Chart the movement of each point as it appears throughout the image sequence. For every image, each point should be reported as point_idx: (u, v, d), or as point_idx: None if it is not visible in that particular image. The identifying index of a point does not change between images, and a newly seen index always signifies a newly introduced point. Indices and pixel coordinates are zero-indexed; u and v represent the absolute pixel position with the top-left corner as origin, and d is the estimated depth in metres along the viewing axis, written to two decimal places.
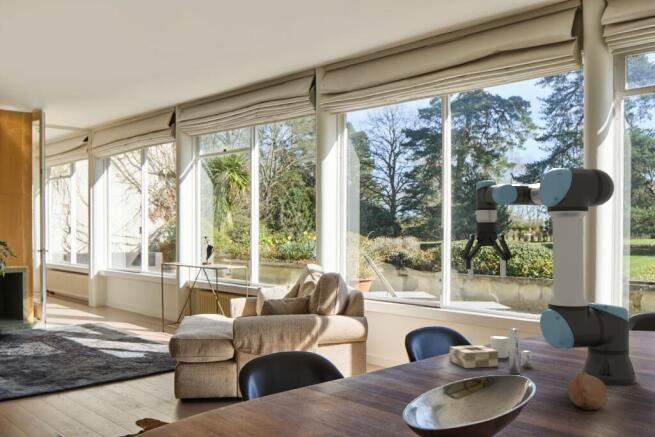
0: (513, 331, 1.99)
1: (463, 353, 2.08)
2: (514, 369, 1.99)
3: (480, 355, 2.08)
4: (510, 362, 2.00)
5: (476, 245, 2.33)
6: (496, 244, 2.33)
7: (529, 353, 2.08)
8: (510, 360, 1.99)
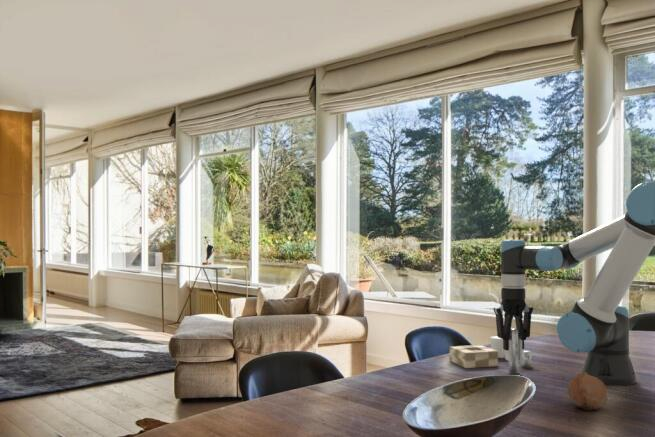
0: (513, 331, 1.99)
1: (463, 353, 2.08)
2: (514, 369, 1.99)
3: (480, 355, 2.08)
4: (509, 361, 2.00)
5: (506, 318, 2.00)
6: (521, 316, 1.99)
7: (529, 353, 2.08)
8: None
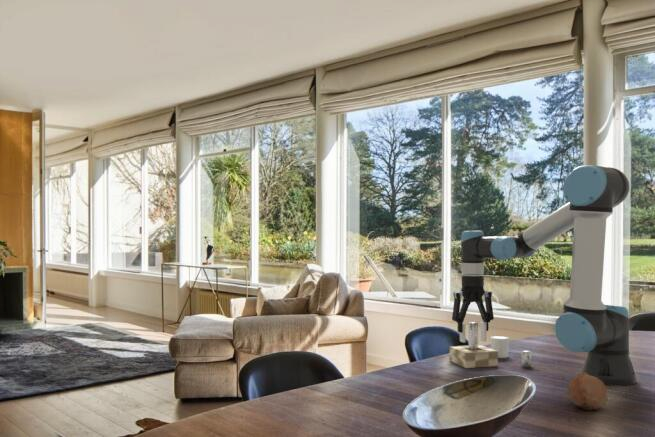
0: (472, 324, 2.13)
1: (463, 353, 2.08)
2: None
3: (480, 355, 2.08)
4: None
5: (464, 303, 2.14)
6: (481, 301, 2.13)
7: (529, 353, 2.08)
8: None
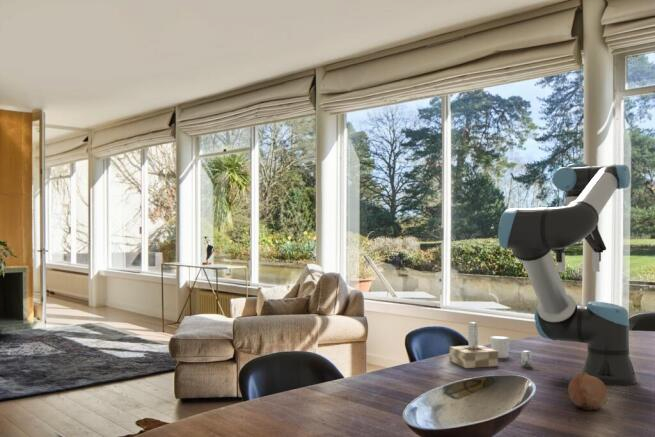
0: (472, 325, 2.13)
1: (463, 353, 2.08)
2: None
3: (480, 355, 2.08)
4: None
5: None
6: (589, 234, 2.10)
7: (529, 353, 2.08)
8: None
